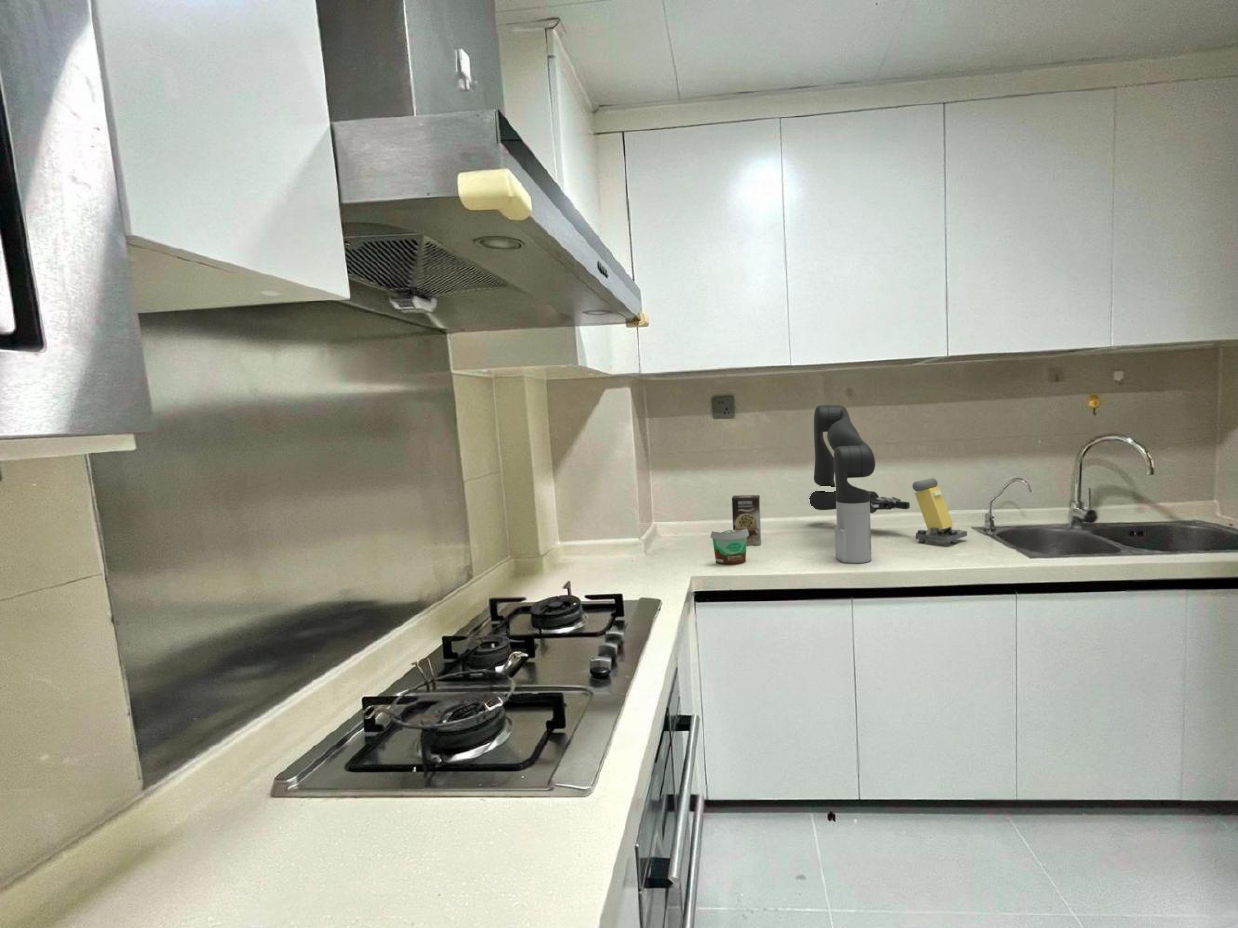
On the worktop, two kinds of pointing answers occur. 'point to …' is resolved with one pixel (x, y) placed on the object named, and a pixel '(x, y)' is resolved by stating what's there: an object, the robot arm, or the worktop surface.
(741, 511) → the coffee box
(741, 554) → the food container
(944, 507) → the grey-capped yellow box
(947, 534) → the tribrach
